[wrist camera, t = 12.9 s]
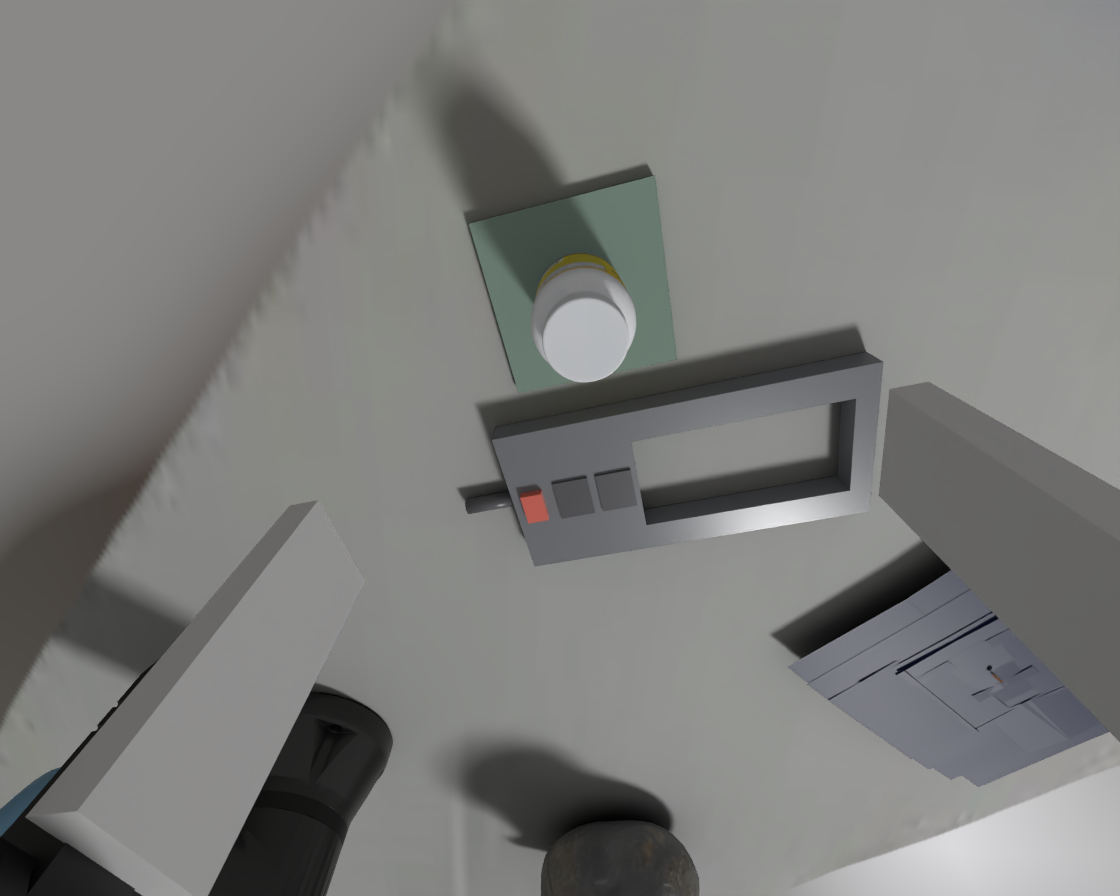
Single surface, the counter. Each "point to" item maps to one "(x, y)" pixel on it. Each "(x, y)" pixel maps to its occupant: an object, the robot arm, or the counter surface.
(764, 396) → the rectangular frame
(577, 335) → the supplement bottle
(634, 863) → the vessel
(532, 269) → the rubber mat
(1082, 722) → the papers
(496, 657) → the counter surface
